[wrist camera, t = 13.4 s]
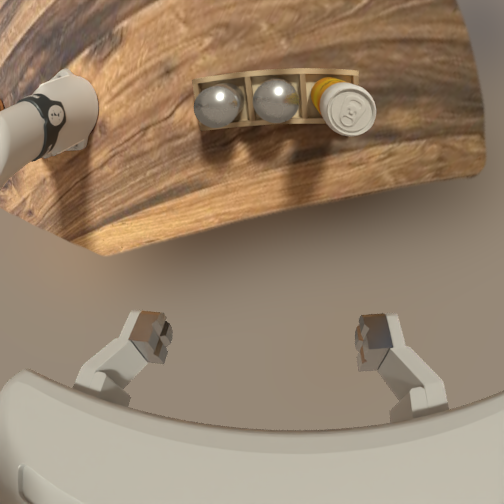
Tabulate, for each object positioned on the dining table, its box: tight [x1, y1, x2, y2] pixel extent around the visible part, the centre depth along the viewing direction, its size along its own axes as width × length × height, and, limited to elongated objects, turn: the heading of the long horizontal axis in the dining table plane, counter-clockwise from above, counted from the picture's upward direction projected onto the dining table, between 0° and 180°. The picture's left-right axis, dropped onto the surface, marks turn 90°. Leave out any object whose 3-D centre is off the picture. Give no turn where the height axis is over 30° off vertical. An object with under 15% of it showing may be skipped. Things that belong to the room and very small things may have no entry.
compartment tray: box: [192, 68, 359, 131], centre depth 37 cm, size 25×9×4 cm, turn 96°
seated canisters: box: [194, 78, 299, 128], centre depth 35 cm, size 14×6×7 cm, turn 96°
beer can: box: [311, 77, 376, 136], centre depth 30 cm, size 6×6×15 cm
